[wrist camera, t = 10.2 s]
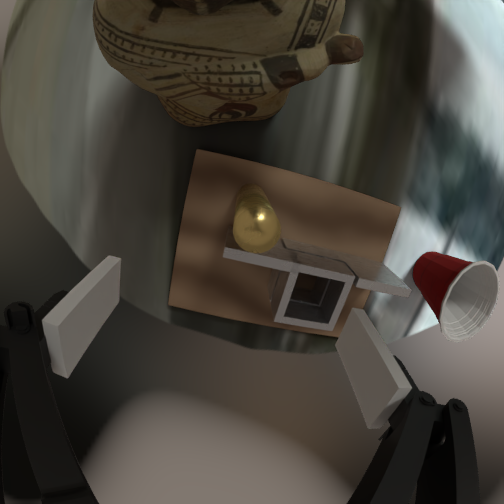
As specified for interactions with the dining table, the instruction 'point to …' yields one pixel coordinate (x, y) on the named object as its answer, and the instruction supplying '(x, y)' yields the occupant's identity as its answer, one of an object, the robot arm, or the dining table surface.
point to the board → (292, 227)
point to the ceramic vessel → (222, 52)
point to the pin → (255, 220)
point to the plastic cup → (457, 292)
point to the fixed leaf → (364, 270)
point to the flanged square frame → (290, 267)
